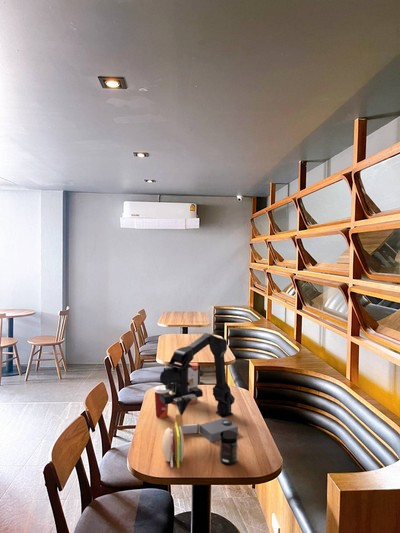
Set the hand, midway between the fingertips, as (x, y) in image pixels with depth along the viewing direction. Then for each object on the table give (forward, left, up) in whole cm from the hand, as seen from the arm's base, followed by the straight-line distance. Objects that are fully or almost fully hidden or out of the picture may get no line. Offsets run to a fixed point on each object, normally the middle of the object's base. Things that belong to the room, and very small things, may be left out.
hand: (181, 414), depth 160 cm
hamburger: (+11, +14, -10) cm, 20 cm away
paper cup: (-2, -23, -10) cm, 26 cm away
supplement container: (-7, +26, -10) cm, 28 cm away
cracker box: (-20, -32, -10) cm, 39 cm away
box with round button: (-16, +6, -10) cm, 20 cm away
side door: (-4, -1, -10) cm, 11 cm away
